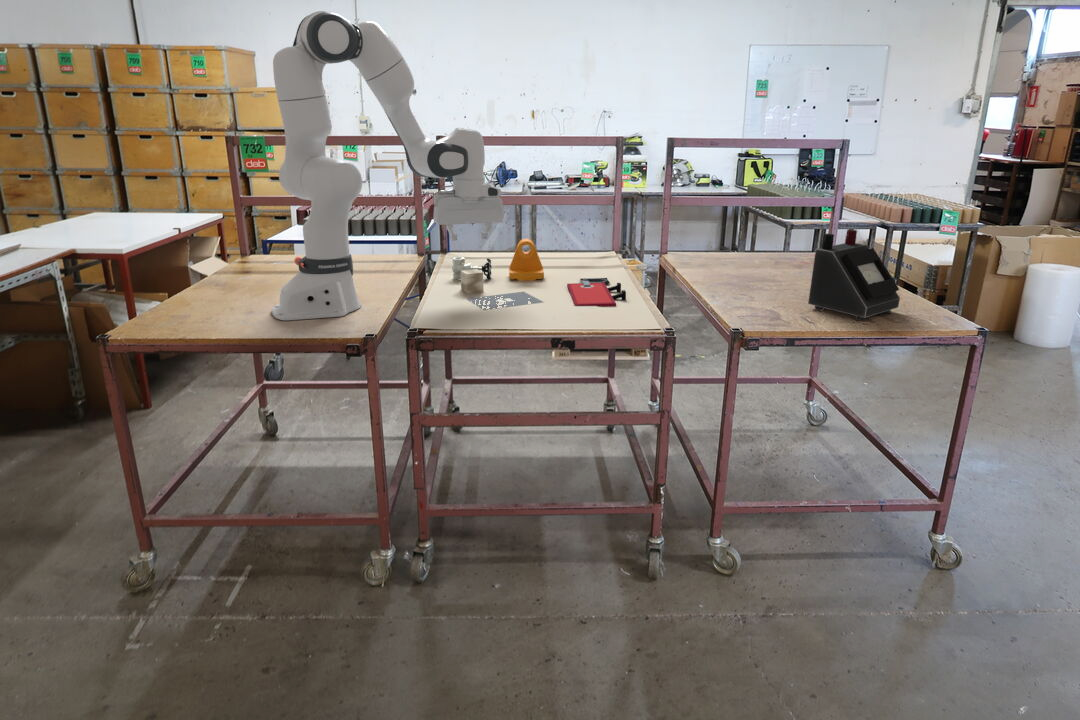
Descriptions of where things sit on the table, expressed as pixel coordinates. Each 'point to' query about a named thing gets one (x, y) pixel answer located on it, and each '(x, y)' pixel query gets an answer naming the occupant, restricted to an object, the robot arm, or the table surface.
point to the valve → (469, 267)
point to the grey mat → (519, 298)
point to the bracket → (526, 263)
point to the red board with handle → (594, 292)
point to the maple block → (472, 281)
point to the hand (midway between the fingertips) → (469, 239)
